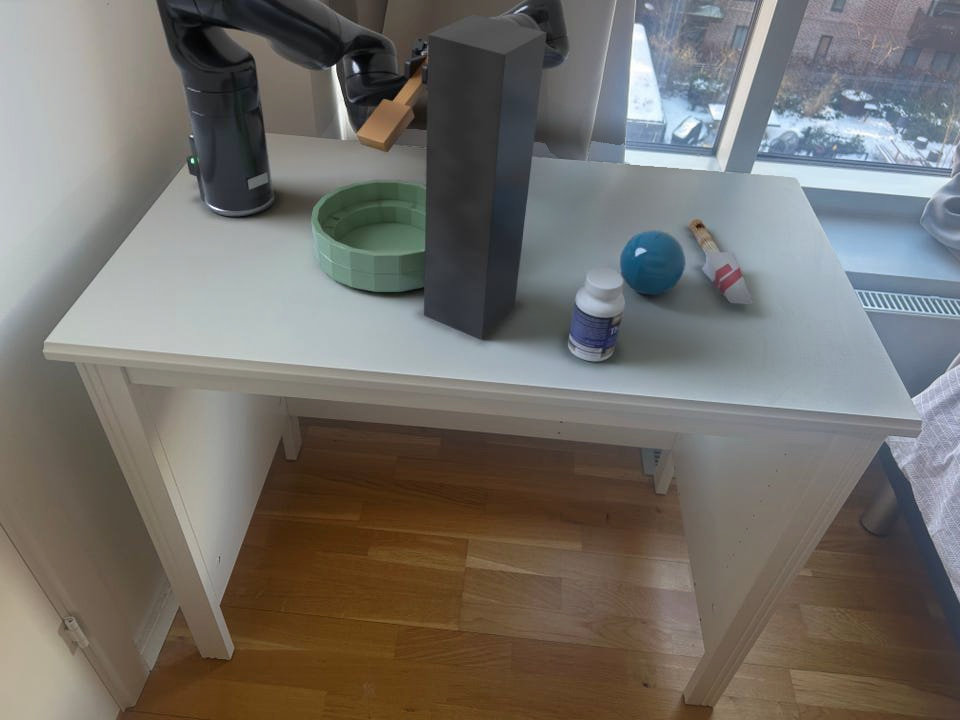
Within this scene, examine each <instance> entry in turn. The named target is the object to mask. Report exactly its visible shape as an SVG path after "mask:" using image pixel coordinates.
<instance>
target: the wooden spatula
mask: <svg viewBox="0 0 960 720" xmlns="http://www.w3.org/2000/svg"><path fill="white" fill-rule="evenodd" d="M427 63H428V56H427V57H426V59H425V60H424V61H423V63H422V64H421V65H420V66H419V68H418V69H417V70H416V72H415V73H414V74H413V76H412V77H411V78H410V79H409V81H408V82H407V83H406V84H405V86H404V87H403V88H402V90H401V91H400V92H399V94H398V95H397V96H396V97H395V99H394V100H393V101H390V100H386V99H383V100H382V102H381V103H380V104H379V106H377V107H375V109H374V110H373V112H372V113H371V115H370V116H368V118H367V119H366V120H365V122H364V124H363V125H362V126H361V127H360V129H359V130H358V131H357V133H355V134H356V138H357V140H358V142H359V144H360V145H361V146H365V147H368V148H371V149H375V150H378V151H381V152H383V153H387V154H388V153H389V152H390V150H391V149H392V148H393V146H394V145H395V144H396V142H397V141H398V140H399V139H400V137H401V136H402V134H403V133H404V132H405V130H406V129H407V128H408V126H409V125H410V124H411V122H412V121H413V120H414V118H415V113H414V111H413V107H414V106H415V105H416V103H417V102H418V101H419V99H420V98H421V97H422V95H423V94H424V93H425V91H427V90H428V89H427V87H428V85H427V84H423V83H422V81H421V80H422V67H423V65H424V64H427ZM426 89H427V90H426Z"/></svg>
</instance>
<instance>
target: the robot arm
mask: <svg viewBox="0 0 960 720" xmlns="http://www.w3.org/2000/svg"><path fill="white" fill-rule="evenodd" d="M155 3H156V7H157V11H158V15H159V19H160V22H161V26H162V30H163V33H164V38H165V42H166V46H167V50H168V52H169V55H170V58H171V59H172V62H173V63H174V65H175V66H176V68H177V70H178V71H179V75H180V80H181V85H182V89H183V94H184V99H185V105H186V108H187V114H188V118H189V123H190V128H191V133H190V134H189V135H188V142H189V147H190V152H191V155H189V156H187V157H186V163H187V169H188V173H189V175H191V176H194V177H195V178H196V179H197V180H196V181H197V185H198V186H197V187H198V191H199V196H200V200H203V201H204V202H205V206H206V208H207V209H208V210H209V211H211V212H213V213H215V214H217V215H221V216H225V217H247V216H252V215H256V214H258V213H262V212H263V211H265V210H267V209H268V208H270V207H271V206H273V204H274V203H275V191H274V189H273V182H272V173H271V165H270V159H269V158H270V157H269V150H268V142H267V136H266V129H265V121H264V114H263V106H262V100H261V99H262V98H261V91H260V85H259V77H258V70H257V63H256V60H255V57H254V55H253V53H251V51H249V50H248V49H247V48H246V47H245V46H243V45H242V44H240V43H239V42H237V41H236V40H235V39H233V38H232V37H231V35H230V34H228V32H227V31H226V30H227V29H228V30H235V31H239V32H240V31H241V32H244V33H249V34H251V35H252V34H253V35H255V36H259V37H262V38H264V39H265V40H266V42H267V44H268V46H269V47H270V48H271V50H272V51H273V52H274V53H275V54H276V55H278V56H279V57H281V58H283V60H286V61H288V62H290V63H292V64H294V65H297V66H299V67H301V68H304V69H306V70H309V71H314V72H317V71H318V72H320V71H324V70H328V69H331V68H332V67H334V66H336V65H337V64H338V63H339V62H341V61H342V64H343V73H344V74H343V75H344V81H345V83H344V85H345V91H346V97H347V99H348V101H349V102H350V103H352V105H355V106H359V107H362V108H372V107H373V108H377V107H378V106H379V104H380V103H381V102H382V100H383V99H386V100H390V101H393V100H394V99H395V97H396V96H397V95H398V94H399V92H400V91H401V90H402V88H403V87H404V86H405V84H406V83H407V82H408V81H409V79H410V78H411V77H412V76H413V74H414V73H415V72H416V70H417V69H418V68H419V66H420V65H421V64H422V63H423V61H424V60H425V59H426V57H427V56H428V41H426V40H425V39H424V38H422V37H417V38H415V39H414V42H413V44H412V47H411V57H410V58H408V59H406V60H405V61H404V71H403V72H404V73H403V74H401V75H400V70H399V61H398V52H397V48H396V46H395V43H394V42H393V41H392V40H391V39H390V38H389V37H387V36H385V35H383V34H381V33H379V32H376V31H375V30H371V29H369V28H367V27H364V26H362V25H360V24H358V23H355V22H353V21H352V20H349V19H348V18H346V17H345V16H343V15H341V14H339V13H338V12H336V11H335V10H333V9H332V8H331V7H330V6H329V5H326V4H325V3H323V2H321V1H320V0H155ZM490 18H491V19H495V20H499V21H503V22H507V23H511V24H515V25H519V26H523V27H527V28H531V29H535V30H539V31H543V32H546V41H545V50H544V59H543V67H542V70H549V69H554V68H557V67H559V66H561V65H562V64H564V63H565V62H566V61H567V59H568V57H569V56H570V55H569V54H570V51H571V42H570V37H569V31H568V26H567V25H568V24H567V20H566V13H565V8H564V3H563V0H523V1H521V2H520V3H518V4H516V5H515V6H514V7H512V8H511V9H509V10H508V11H505V12H503V13H502V14H500V15H498V16H491V17H490ZM225 29H226V30H225ZM421 81H422V83H423V84H427V85H428V63H427V64H424V65H423V67H422V80H421ZM427 90H428V87H427V89H426V90H425V91H427Z"/></svg>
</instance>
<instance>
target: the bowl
mask: <svg viewBox="0 0 960 720" xmlns="http://www.w3.org/2000/svg"><path fill="white" fill-rule="evenodd" d="M425 217H426V184H422V183H419V182H413V181H407V180H401V179H371V180H365V181H357V182H353V183H350V184H346V185H343V186H341V187H337V188H335V189H334V190H332V191H330V192H329V193H326V194H325V195H324V196H322V197H321V198H320V199H319V200H318V202H317V203H316V204H315V205H314V206H313V208H312V213H311V219H310V223H311V225H310V226H311V234H312V243H313V245H312V246H313V255H314V257H315V260H316V262H317V264H318V266H319V269H321V271H323V272H324V273H325V274H326V275H328V276H329V277H330V278H331V279H332V280H334V281H336V282H339V283H341V284H343V285H345V286H348V287H351V288H353V289H359V290H364V291H370V292H374V293H375V292H376V293H396V292H397V293H400V292H401V293H402V292H406V291H412V290H416V289H422V288H424V280H425Z"/></svg>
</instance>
